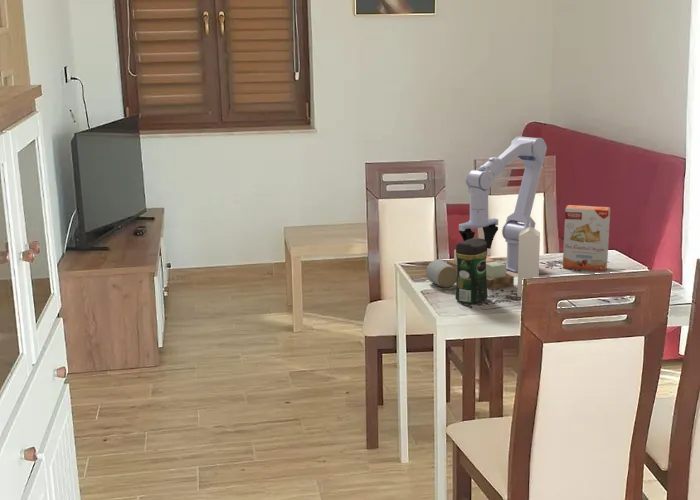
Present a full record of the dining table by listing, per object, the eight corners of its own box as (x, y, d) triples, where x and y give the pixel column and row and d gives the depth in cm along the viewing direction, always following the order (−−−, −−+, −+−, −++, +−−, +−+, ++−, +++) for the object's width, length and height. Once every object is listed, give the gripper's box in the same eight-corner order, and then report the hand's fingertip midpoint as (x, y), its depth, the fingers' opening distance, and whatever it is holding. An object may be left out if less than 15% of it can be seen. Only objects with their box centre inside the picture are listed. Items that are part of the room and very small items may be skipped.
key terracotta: (486, 268, 279) (487, 256, 278) (495, 272, 274) (495, 260, 273) (473, 270, 277) (473, 258, 276) (481, 274, 272) (481, 262, 271)
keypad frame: (469, 265, 293) (469, 257, 292) (513, 285, 268) (513, 276, 268) (447, 269, 290) (447, 260, 289) (489, 289, 265) (489, 280, 265)
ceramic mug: (438, 290, 266) (439, 266, 264) (425, 283, 273) (425, 260, 271) (467, 286, 270) (468, 262, 268) (453, 279, 277) (454, 256, 276)
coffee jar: (469, 293, 261) (470, 234, 257) (491, 298, 256) (492, 238, 252) (450, 301, 254) (450, 240, 250) (472, 306, 249) (473, 244, 245)
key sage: (497, 273, 273) (497, 261, 272) (506, 277, 268) (506, 264, 268) (483, 275, 271) (484, 263, 270) (492, 279, 267) (492, 266, 266)
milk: (517, 297, 257) (518, 225, 252) (518, 291, 263) (519, 221, 257) (538, 298, 255) (539, 225, 250) (538, 292, 261) (540, 221, 256)
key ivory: (467, 259, 290) (467, 248, 289) (474, 263, 286) (474, 251, 285) (454, 261, 288) (454, 250, 287) (461, 265, 284) (461, 253, 283)
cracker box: (562, 268, 287) (564, 207, 282) (565, 264, 292) (567, 204, 287) (605, 272, 281) (608, 209, 276) (607, 267, 287) (610, 206, 282)
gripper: (488, 203, 278) (488, 244, 281) (452, 209, 271) (452, 250, 274) (502, 206, 272) (502, 248, 275) (466, 212, 265) (466, 255, 268)
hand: (478, 249), depth 274 cm, fingers open, 7 cm apart
